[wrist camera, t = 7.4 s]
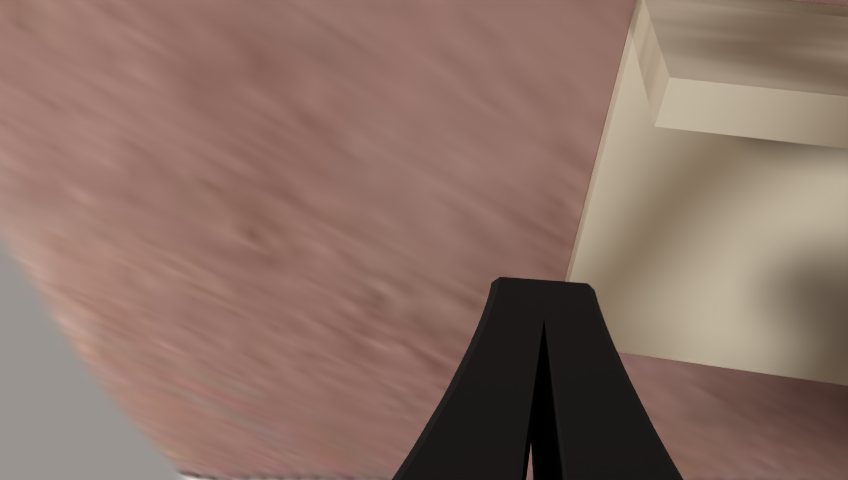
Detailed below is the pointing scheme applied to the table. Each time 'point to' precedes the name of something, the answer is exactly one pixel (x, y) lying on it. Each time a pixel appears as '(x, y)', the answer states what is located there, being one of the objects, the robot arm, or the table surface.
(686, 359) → the wooden open box
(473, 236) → the table surface
